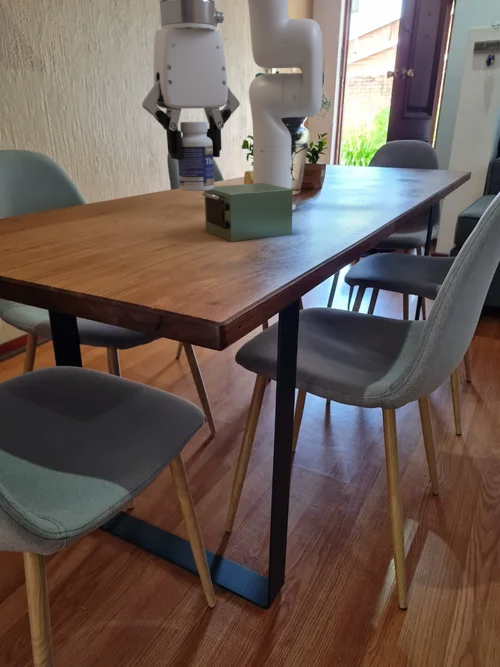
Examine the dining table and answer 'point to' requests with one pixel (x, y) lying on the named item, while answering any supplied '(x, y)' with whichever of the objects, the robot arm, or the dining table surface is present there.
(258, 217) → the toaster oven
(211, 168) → the pill bottle
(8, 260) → the dining table surface
